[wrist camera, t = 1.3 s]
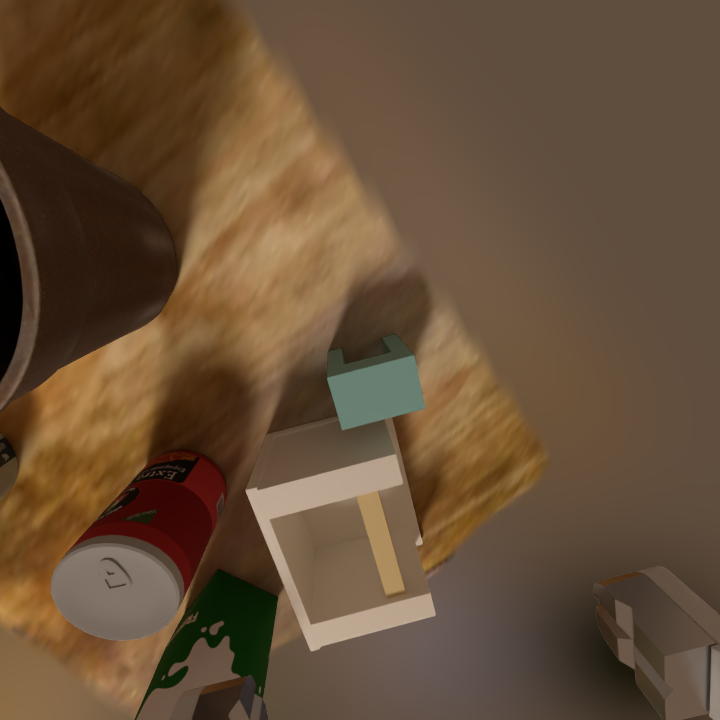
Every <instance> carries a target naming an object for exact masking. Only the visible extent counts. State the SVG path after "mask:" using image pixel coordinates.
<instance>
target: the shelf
mask: <svg viewBox="0 0 720 720" xmlns="http://www.w3.org/2000/svg"><path fill="white" fill-rule="evenodd" d="M245 491H246V494H247V496H248V499H249V501H250V503H251V506H252V508H253V511H254V513H255V516H256V518H257V521H258V523H259V526H260V528H261V530H262V533H263V535H264V538H265V540H266V543H267V545H268V548H269V550H270V553H271V555H272V557H273V560H274V562H275V565H276V567H277V570H278V572H279V575H280V577H281V580H282V582H283V584H284V587H285V589H286V592H287V594H288V597H289V599H290V602H291V604H292V607H293V609H294V611H295V614H296V616H297V619H298V621H299V624H300V626H301V629H302V631H303V633H304V636H305V638H306V641H307V643H308V646H309V648H310V650H311V651H314V650H318V649H320V647H321V646H324V645H328V644H332V643H336V642H339V641H343V640H347V639H350V638H354V637H358V636H361V635H365V634H369V633H373V632H377V631H380V630H384V629H387V628H391V627H395V626H399V625H402V624H406V623H410V622H414V621H418V620H421V619H425V618H429V617H432V616H436V614H435V610H434V606H433V602H432V598H431V594H430V590H429V587H428V584H427V580H426V577H425V574H424V570H423V567H422V564H421V560H420V557H419V554H418V550H417V547H416V546H418V545H422V544H423V543H422V539H421V535H420V530H419V526H418V522H417V518H416V514H415V510H414V506H413V502H412V497H411V493H410V489H409V485H408V481H407V477H406V473H405V468H404V464H403V460H402V456H401V452H400V448H399V444H398V440H397V435H396V431H395V427H394V423H393V419H392V417H391V418H387V419H383V420H380V421H376V422H372V423H368V424H364V425H361V426H357V427H353V428H349V429H345V430H342V428H341V425H340V421H339V418H338V416H334V417H330V418H326V419H322V420H319V421H315V422H311V423H307V424H303V425H300V426H296V427H292V428H288V429H284V430H280V431H277V432H273V433H269V434H266V436H265V439H264V442H263V444H262V447H261V450H260V452H259V455H258V458H257V460H256V463H255V466H254V468H253V471H252V474H251V476H250V479H249V482H248V484H247V487H246V490H245Z"/></svg>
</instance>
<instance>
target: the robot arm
mask: <svg viewBox="0 0 720 720" xmlns="http://www.w3.org/2000/svg"><path fill="white" fill-rule="evenodd" d="M594 595H595V597H596V598H597V599H598V600H599V602H600V603H599V605H598V607H597V608H596V617H597V622H598V625H599V627H600V630H601V632H602V634H603V636H604V638H605V640H606V641H607V643H608V645H609V647H610V648H611V649H612V651H613V652H614V654H615V655H616V656H617V658H618V659H619V660H620V661H622V662H623V663H625V664H626V665H628V666H630V667H631V668H633V669H634V670H635V675H636V683H637V685H638V686H639V688H640V689H641V690H642V692H643V693H644V694H645V696H646V697H647V699H648V700H649V701H650V703H651V704H652V705H653V707H654V708H655V709H656V711H657V712H658V713H659V715H660V716H661V717H662V719H663V720H682V719H686V718H690V717H695V716H699V715H704V714H708V713H710V715H709V716H710V717H711V718H712V719H714V720H720V615H719V614H718V613H717V612H716V611H714V610H713V609H712V608H711V607H710V606H709V605H708V604H706V603H705V602H704V601H703V600H702V599H701V598H700V597H698V596H697V595H696V594H695V593H694V592H693V591H692V590H690V589H689V588H688V587H687V586H686V585H685V584H684V583H683V582H681V581H680V580H679V579H678V578H677V577H676V576H674V575H673V574H672V573H671V572H670V571H669V570H668V569H666V568H664V567H662V566H655V567H651V568H648V569H645V570H641V571H638V572H636V571H634V572H631V573H627V574H624V575H620V576H617V577H613V578H610V579H606V580H603V581H600V582H596V584H595V585H594ZM255 689H256V683H255V681H254V679H253V677H252V675H248V676H244V677H240V678H236V679H232V680H228V681H223V682H219V683H215V684H211V685H206V686H202V687H198V688H195V689H191V690H187V691H184V692H183V693H182V695H181V696H180V698H179V699H178V701H177V702H176V705H175V708H174V710H173V713H172V716H171V718H170V720H268V715H267V710H266V705H265V703H264V701H263V698H261V697H259V696H257V695H256V694H255Z"/></svg>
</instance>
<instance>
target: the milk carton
mask: <svg viewBox="0 0 720 720" xmlns="http://www.w3.org/2000/svg"><path fill="white" fill-rule="evenodd" d="M277 602H278V597H276V596H274V595H272V594H270V593H268V592H266V591H263V590H261V589H259V588H257V587H255V586H253V585H251V584H249V583H246V582H244V581H242V580H240V579H238V578H236V577H234V576H232V575H229V574H227V573H225V572H223V571H221V570H218V571H217V572H216V573H215V575H214V576H213V577H212V579H211V580H210V581H209V583H208V584H207V585H206V586H205V588H204V589H203V590H202V592H201V593H200V594H199V596H198V597H197V598H196V599H195V601H194V602H193V603H192V605H191V606H190V607H189V608H188V610H187V611H186V612H185V614H184V615H183V617H182V619H181V621H180V623H179V624H178V626H177V628H176V630H175V632H174V634H173V635H172V637H171V639H170V641H169V643H168V645H167V646H166V649H165V651H164V653H163V655H162V657H161V660H160V662H159V664H158V666H157V669H156V671H155V673H154V676H153V678H152V680H151V683H150V685H149V687H148V690H147V692H146V694H145V697H144V699H143V701H142V704H141V706H140V708H139V711H138V713H137V715H136V718H135V720H170V718H171V716H172V713H173V710H174V708H175V705H176V702H177V701H178V699H179V698H180V696H181V695H182V693H183V692H184V691H187V690H191V689H195V688H198V687H202V686H206V685H211V684H215V683H219V682H223V681H228V680H232V679H236V678H240V677H244V676H248V675H252V677H253V679H254V681H255V683H256V689H255V694H256V695H257V696H259V697H261V698H263V694H264V688H265V680H266V675H267V668H268V662H269V656H270V649H271V642H272V636H273V629H274V622H275V615H276V609H277Z"/></svg>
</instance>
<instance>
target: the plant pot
mask: <svg viewBox="0 0 720 720" xmlns="http://www.w3.org/2000/svg"><path fill="white" fill-rule="evenodd" d="M176 273H177V263H176V255H175V249H174V245H173V242H172V238H171V236H170V233H169V231H168V229H167V226H166V224H165V223H164V221H163V219H162V217H161V216H160V214H159V213H158V211H157V210H156V209H155V207H154V206H153V205H152V203H151V202H150V201H149V200H148V199H147V198H146V197H145V196H144V195H143V194H142V193H140V192H139V191H138V190H137V189H135V188H134V187H133V186H131V185H130V184H129V183H127V182H126V181H124V180H123V179H122V178H120V177H118V176H116V175H114V174H112V173H110V172H108V171H107V170H105V169H103V168H101V167H99V166H97V165H96V164H94V163H92V162H90V161H89V160H87V159H85V158H84V157H82V156H80V155H78V154H77V153H75V152H73V151H71V150H70V149H68V148H66V147H64V146H63V145H61V144H59V143H57V142H56V141H54V140H52V139H50V138H49V137H47V136H45V135H44V134H42V133H40V132H38V131H37V130H35V129H33V128H32V127H30V126H28V125H26V124H25V123H23V122H21V121H20V120H18V119H16V118H14V117H13V116H11V115H9V114H8V113H6V112H5V111H4V110H3V109H2V108H1V107H0V413H1V412H2V411H3V410H4V409H5V408H6V407H7V405H8V404H9V403H10V402H12V401H13V400H15V399H17V398H19V397H21V396H23V395H24V394H26V393H28V392H30V391H32V390H33V389H35V388H36V387H38V386H39V385H41V384H42V383H43V382H45V381H46V380H47V379H48V378H49V377H51V376H52V375H53V374H54V373H55V372H56V371H57V370H58V369H60V368H62V367H64V366H66V365H68V364H69V363H71V362H73V361H75V360H77V359H79V358H81V357H83V356H85V355H87V354H89V353H91V352H93V351H95V350H97V349H99V348H101V347H103V346H105V345H106V344H108V343H110V342H112V341H114V340H116V339H118V338H120V337H122V336H124V335H127V334H129V333H131V332H133V331H135V330H137V329H139V328H141V327H143V326H145V325H146V324H148V323H149V322H150V321H152V320H153V319H154V318H155V317H156V316H158V315H159V314H160V312H161V311H162V308H163V307H164V305H165V303H166V302H167V300H168V298H169V296H170V294H171V292H172V291H173V289H174V286H175V281H176Z"/></svg>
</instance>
